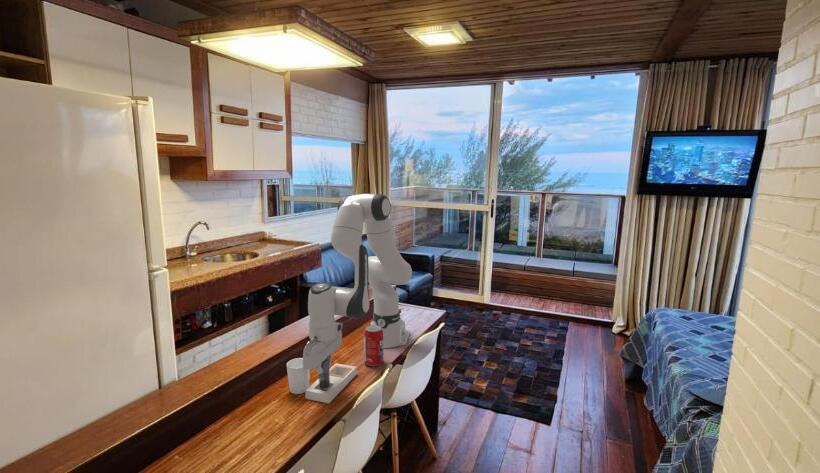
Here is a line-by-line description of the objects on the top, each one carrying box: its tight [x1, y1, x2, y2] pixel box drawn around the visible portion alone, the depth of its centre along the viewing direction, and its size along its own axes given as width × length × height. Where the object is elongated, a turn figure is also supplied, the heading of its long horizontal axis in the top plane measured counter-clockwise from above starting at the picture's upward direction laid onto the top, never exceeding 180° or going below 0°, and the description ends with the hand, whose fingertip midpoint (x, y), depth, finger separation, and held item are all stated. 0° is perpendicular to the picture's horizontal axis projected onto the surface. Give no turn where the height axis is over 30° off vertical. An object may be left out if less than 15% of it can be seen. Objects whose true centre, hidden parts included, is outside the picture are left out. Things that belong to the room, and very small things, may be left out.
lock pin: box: [318, 355, 330, 390], centre depth 141 cm, size 4×4×11 cm
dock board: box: [304, 362, 358, 404], centre depth 147 cm, size 21×9×3 cm, turn 161°
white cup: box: [286, 357, 311, 395], centre depth 144 cm, size 8×8×10 cm
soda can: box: [363, 324, 385, 367], centre depth 164 cm, size 8×8×15 cm
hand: (324, 369), depth 141 cm, fingers closed on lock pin, 4 cm apart
